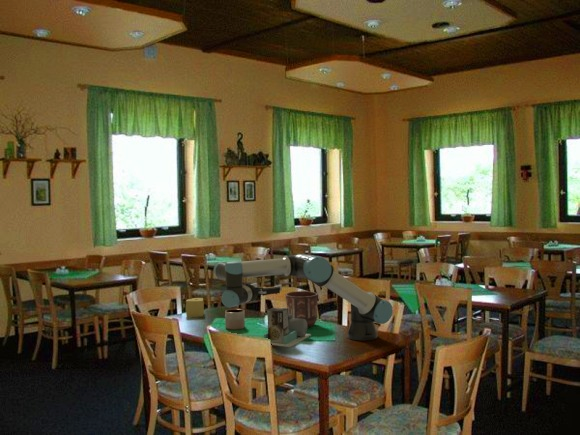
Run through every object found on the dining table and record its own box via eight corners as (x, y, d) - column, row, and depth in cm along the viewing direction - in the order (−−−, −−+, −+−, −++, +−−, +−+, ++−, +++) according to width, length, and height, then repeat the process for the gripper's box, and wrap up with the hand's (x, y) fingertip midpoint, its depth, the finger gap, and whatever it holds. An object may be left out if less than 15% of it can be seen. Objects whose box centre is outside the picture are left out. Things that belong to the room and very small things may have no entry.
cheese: (186, 314, 380) (186, 298, 379) (204, 313, 381) (204, 297, 381) (185, 317, 370) (185, 301, 369) (204, 316, 371) (203, 300, 370)
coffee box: (289, 340, 307) (289, 308, 307) (283, 343, 302) (283, 311, 301) (273, 338, 311) (272, 307, 310) (267, 341, 306) (266, 309, 305)
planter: (241, 330, 335) (241, 313, 334) (222, 329, 337) (222, 312, 336) (247, 325, 345) (246, 308, 345) (228, 325, 348) (228, 308, 347)
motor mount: (310, 335, 320) (310, 314, 319) (289, 347, 299) (289, 323, 298) (278, 332, 329) (278, 311, 328) (256, 343, 307) (255, 320, 307)
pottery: (307, 320, 356) (306, 289, 355) (324, 326, 340) (323, 294, 339) (280, 324, 347) (279, 293, 346) (296, 331, 332) (295, 298, 330)
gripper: (223, 300, 284) (246, 292, 303) (270, 304, 272) (291, 295, 291) (222, 283, 283) (246, 277, 302) (269, 287, 272) (291, 280, 291)
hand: (268, 286), depth 297 cm, fingers open, 13 cm apart
